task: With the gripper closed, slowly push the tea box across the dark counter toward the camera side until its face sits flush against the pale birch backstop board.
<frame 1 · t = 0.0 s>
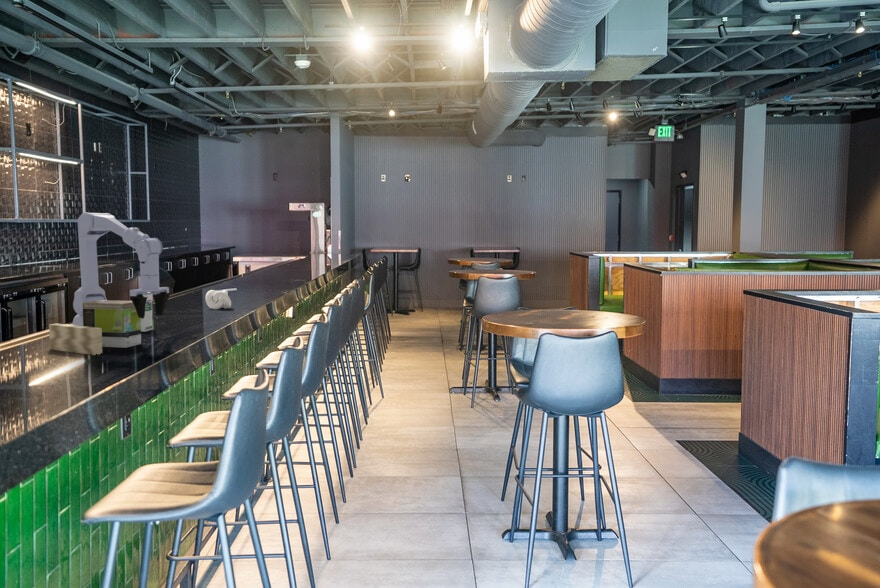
hand: (150, 316, 238), 10 cm above the table, tool pointing down, fingers open, 7 cm apart
tea box: (112, 346, 240), on the table
birch board: (75, 351, 228), on the table
white curved lump: (220, 309, 348), on the table
syrup box: (142, 331, 274), on the table
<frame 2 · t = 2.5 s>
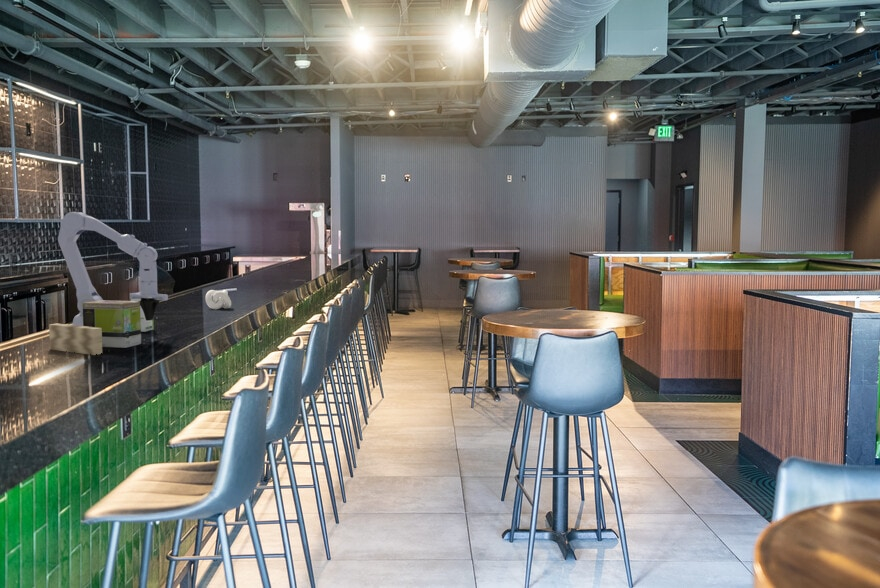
hand: (149, 320, 254), 7 cm above the table, tool pointing down, fingers closed
nothing on the table moved.
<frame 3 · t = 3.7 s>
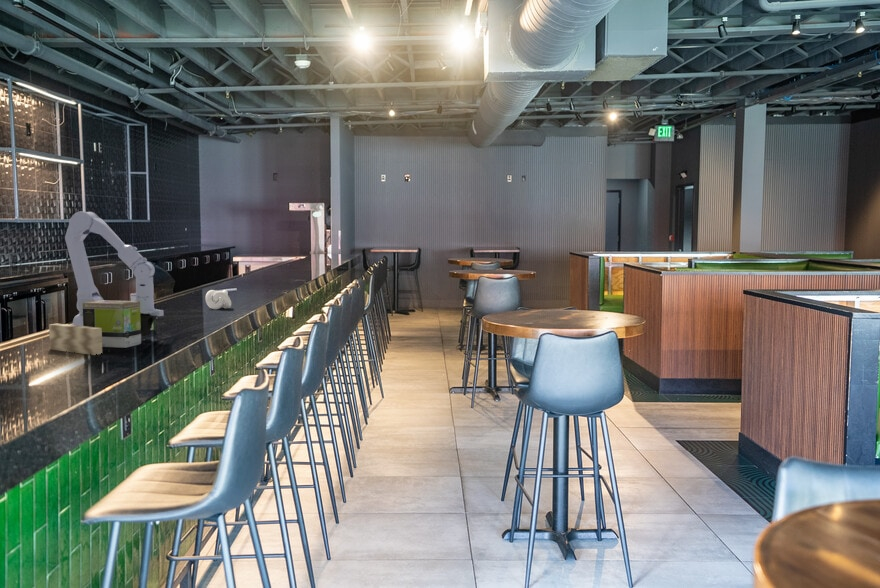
hand: (145, 335, 253), 1 cm above the table, tool pointing down, fingers closed
nothing on the table moved.
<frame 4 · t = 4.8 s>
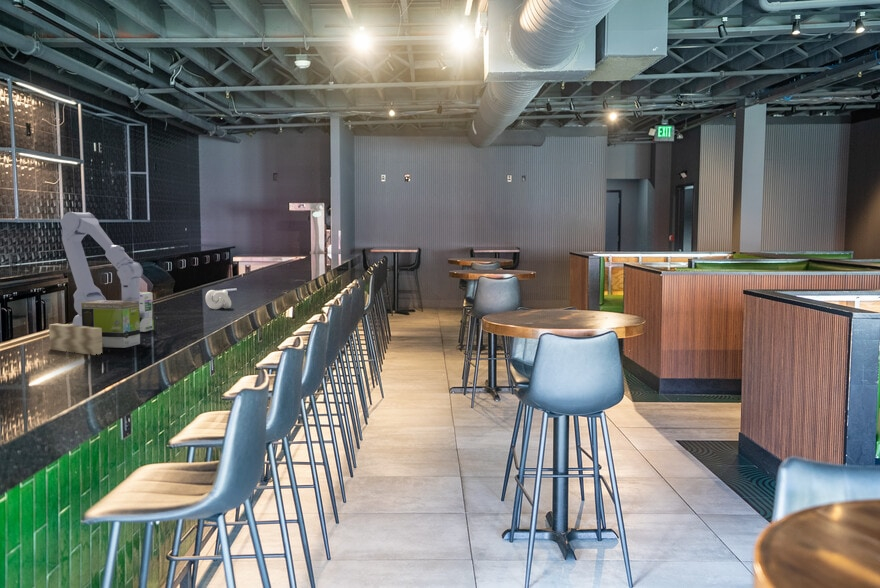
hand: (131, 337, 247), 2 cm above the table, tool pointing down, fingers closed
tea box: (111, 346, 240), on the table, touching gripper
everything else where it was.
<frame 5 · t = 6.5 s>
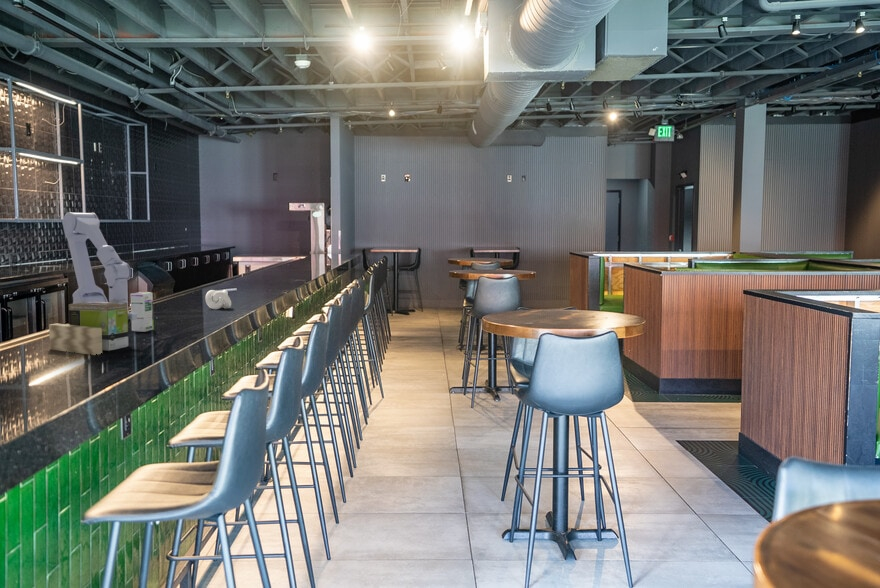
hand: (119, 339, 243), 2 cm above the table, tool pointing down, fingers closed
tea box: (99, 348, 236), on the table
everything else where it was.
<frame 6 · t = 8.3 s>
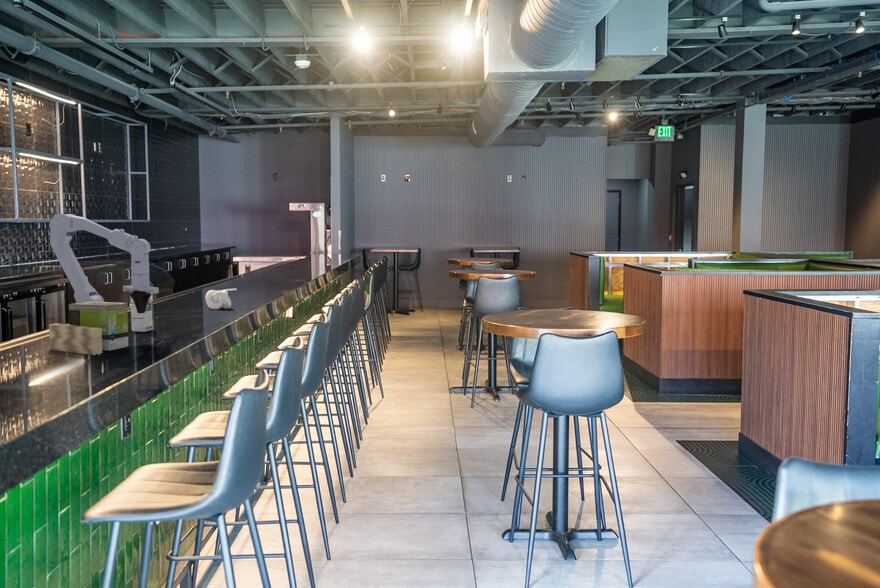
hand: (141, 313, 251), 9 cm above the table, tool pointing down, fingers closed
nothing on the table moved.
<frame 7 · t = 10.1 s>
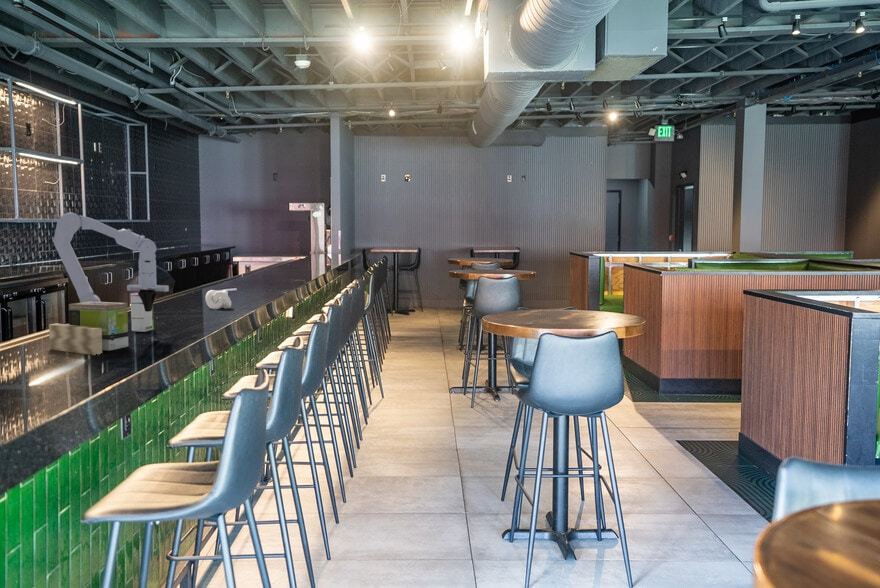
hand: (148, 311, 257), 9 cm above the table, tool pointing down, fingers closed
nothing on the table moved.
at the end: tea box 0.7 cm from the target spot on the table beside the birch board, on the table; tea box tilted 0°; tea box moved 5.3 cm from its start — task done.
